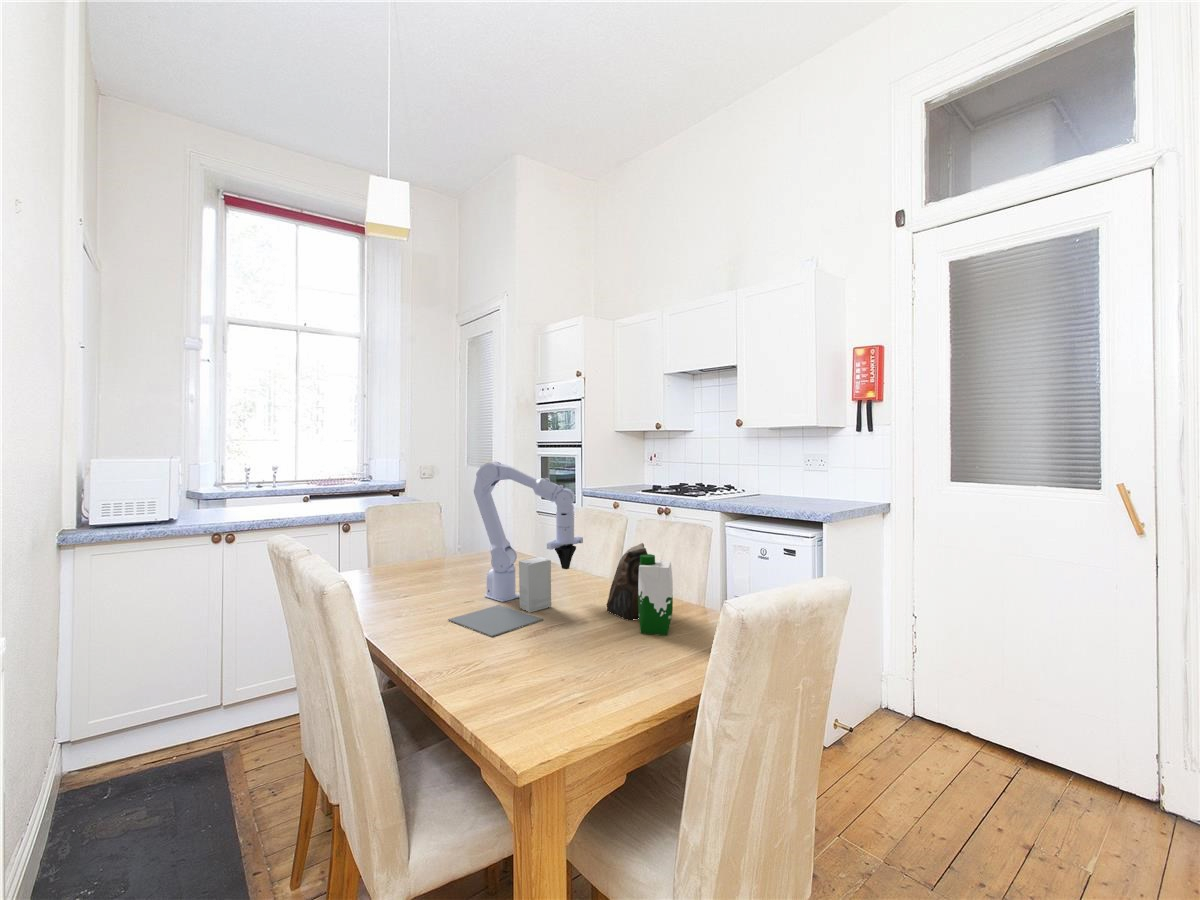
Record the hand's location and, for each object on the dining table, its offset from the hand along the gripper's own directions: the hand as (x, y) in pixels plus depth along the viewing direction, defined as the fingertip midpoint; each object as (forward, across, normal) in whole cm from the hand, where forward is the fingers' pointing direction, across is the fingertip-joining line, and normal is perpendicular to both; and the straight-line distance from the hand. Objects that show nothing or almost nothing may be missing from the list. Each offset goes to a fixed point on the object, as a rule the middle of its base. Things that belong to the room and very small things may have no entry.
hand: (565, 568), depth 177 cm
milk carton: (+10, -5, -39) cm, 41 cm away
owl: (+10, +2, -24) cm, 26 cm away
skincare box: (+10, -13, 0) cm, 16 cm away
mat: (+10, -28, 0) cm, 30 cm away
